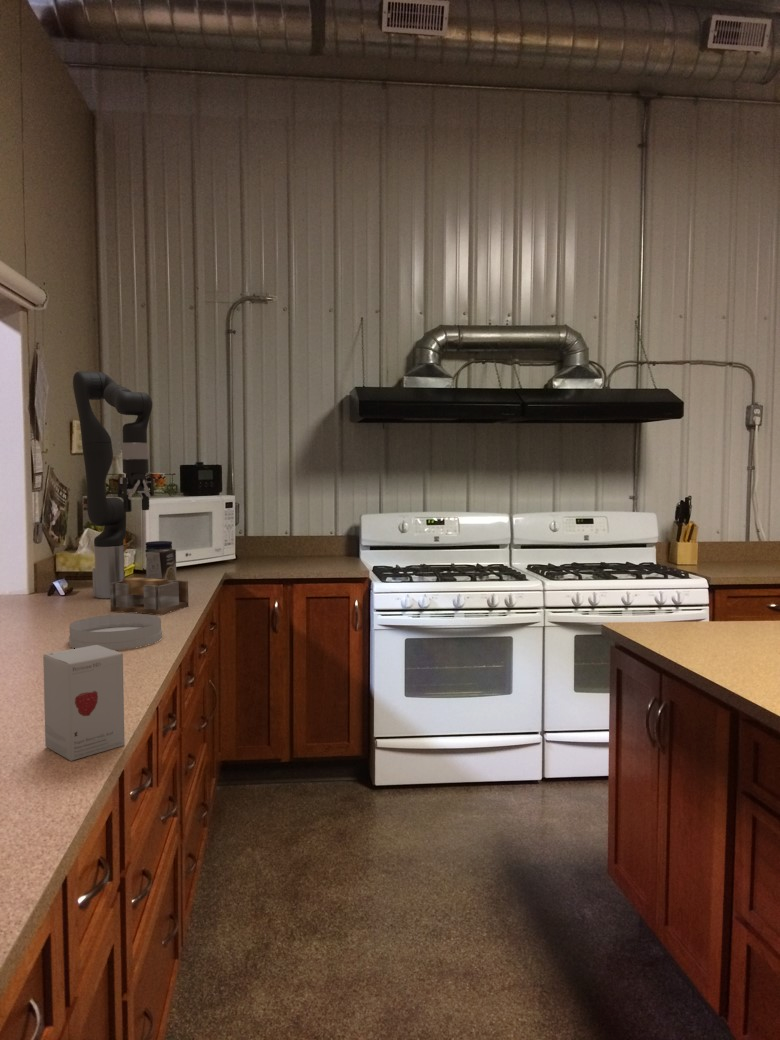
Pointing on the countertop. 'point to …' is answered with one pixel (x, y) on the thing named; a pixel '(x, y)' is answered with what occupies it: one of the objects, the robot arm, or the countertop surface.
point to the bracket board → (150, 597)
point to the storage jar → (158, 545)
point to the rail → (142, 584)
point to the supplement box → (83, 701)
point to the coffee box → (161, 564)
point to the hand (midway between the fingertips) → (136, 511)
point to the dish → (116, 631)
